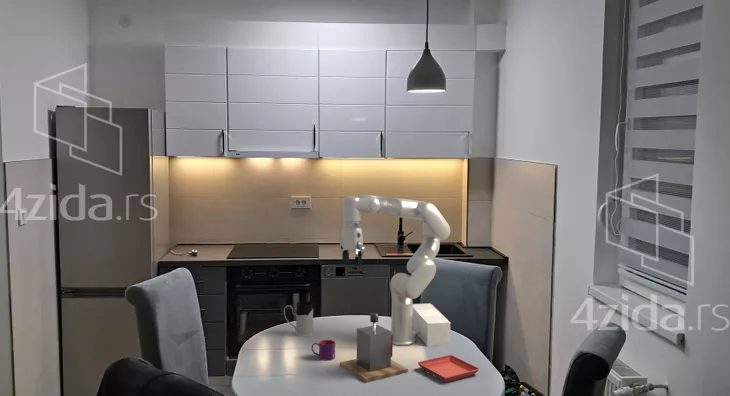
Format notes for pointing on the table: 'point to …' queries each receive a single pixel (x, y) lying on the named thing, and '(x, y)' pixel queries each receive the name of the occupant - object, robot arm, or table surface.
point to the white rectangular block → (430, 325)
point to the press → (374, 348)
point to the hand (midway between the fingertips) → (351, 263)
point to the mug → (326, 350)
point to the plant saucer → (448, 368)
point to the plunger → (374, 319)
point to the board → (374, 375)
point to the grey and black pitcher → (303, 319)
